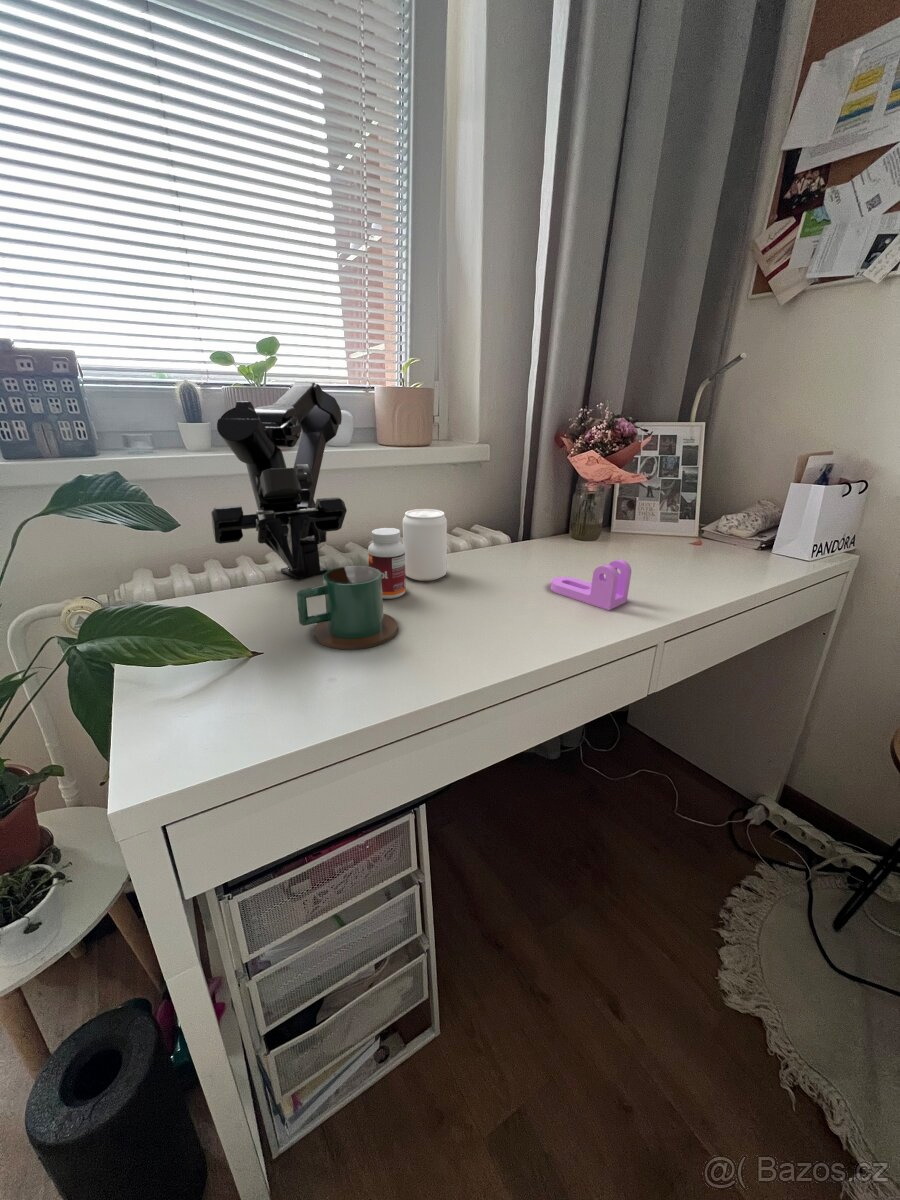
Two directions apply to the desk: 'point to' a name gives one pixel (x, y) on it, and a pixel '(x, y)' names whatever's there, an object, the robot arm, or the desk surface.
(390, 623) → the coaster
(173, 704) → the desk surface
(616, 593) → the bracket
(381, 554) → the pill bottle
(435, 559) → the beverage can
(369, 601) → the mug
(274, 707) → the desk surface
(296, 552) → the robot arm
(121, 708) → the desk surface
